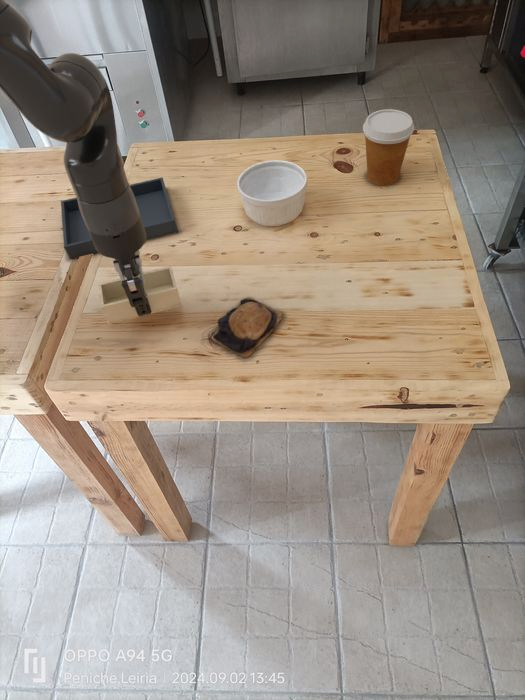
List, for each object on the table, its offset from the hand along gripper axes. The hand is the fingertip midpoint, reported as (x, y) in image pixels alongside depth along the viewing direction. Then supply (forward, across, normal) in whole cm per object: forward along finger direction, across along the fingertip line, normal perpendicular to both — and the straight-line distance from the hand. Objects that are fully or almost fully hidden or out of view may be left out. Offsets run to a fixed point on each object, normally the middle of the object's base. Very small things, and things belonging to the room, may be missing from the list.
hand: (142, 300), depth 87 cm
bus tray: (+4, -28, -2) cm, 28 cm away
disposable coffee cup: (+4, -22, +52) cm, 57 cm away
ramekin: (+4, -20, +28) cm, 35 cm away
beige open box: (+1, 0, 0) cm, 1 cm away
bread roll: (+4, +8, +15) cm, 18 cm away
